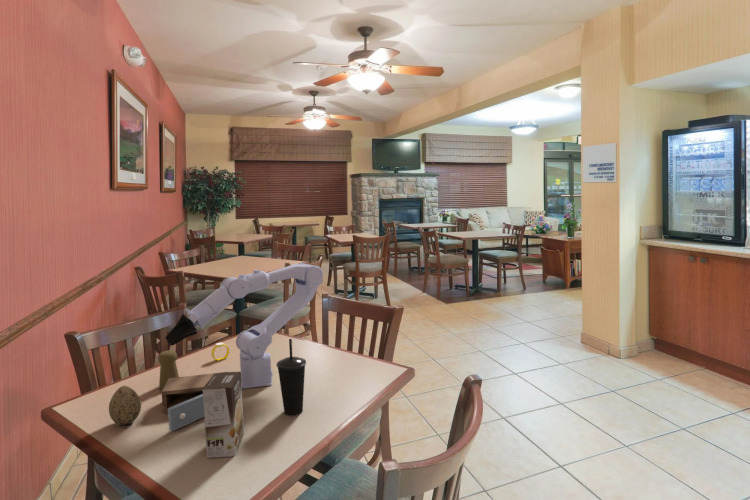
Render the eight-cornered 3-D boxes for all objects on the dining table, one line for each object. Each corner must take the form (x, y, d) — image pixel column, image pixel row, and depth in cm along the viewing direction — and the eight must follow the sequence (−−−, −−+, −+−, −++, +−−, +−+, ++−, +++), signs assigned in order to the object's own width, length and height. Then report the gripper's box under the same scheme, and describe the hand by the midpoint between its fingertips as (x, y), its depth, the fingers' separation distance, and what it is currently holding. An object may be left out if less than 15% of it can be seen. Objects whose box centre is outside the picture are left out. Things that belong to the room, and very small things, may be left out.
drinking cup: (283, 421, 109) (279, 346, 106) (275, 408, 115) (272, 337, 113) (311, 414, 112) (309, 340, 110) (302, 402, 119) (299, 333, 116)
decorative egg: (145, 423, 109) (142, 386, 108) (113, 433, 104) (109, 395, 103) (138, 413, 114) (135, 377, 113) (107, 422, 110) (104, 385, 108)
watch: (214, 363, 150) (212, 347, 149) (211, 361, 152) (209, 345, 151) (231, 357, 154) (228, 342, 153) (227, 355, 156) (225, 340, 155)
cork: (172, 391, 127) (169, 355, 126) (154, 389, 129) (151, 354, 127) (184, 382, 133) (182, 348, 132) (167, 381, 135) (165, 347, 133)
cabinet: (228, 391, 127) (227, 371, 126) (225, 405, 118) (224, 384, 117) (170, 398, 123) (169, 378, 122) (163, 413, 114) (161, 391, 113)
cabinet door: (227, 403, 118) (226, 384, 117) (233, 405, 117) (232, 386, 116) (169, 430, 105) (167, 408, 104) (175, 433, 103) (173, 411, 103)
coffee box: (235, 456, 94) (231, 387, 92) (206, 458, 93) (201, 389, 92) (244, 434, 103) (241, 370, 101) (217, 435, 103) (213, 372, 101)
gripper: (199, 302, 128) (160, 334, 121) (200, 293, 115) (156, 328, 109) (215, 319, 128) (177, 351, 122) (218, 312, 115) (175, 348, 109)
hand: (168, 342), depth 115 cm, fingers open, 7 cm apart
